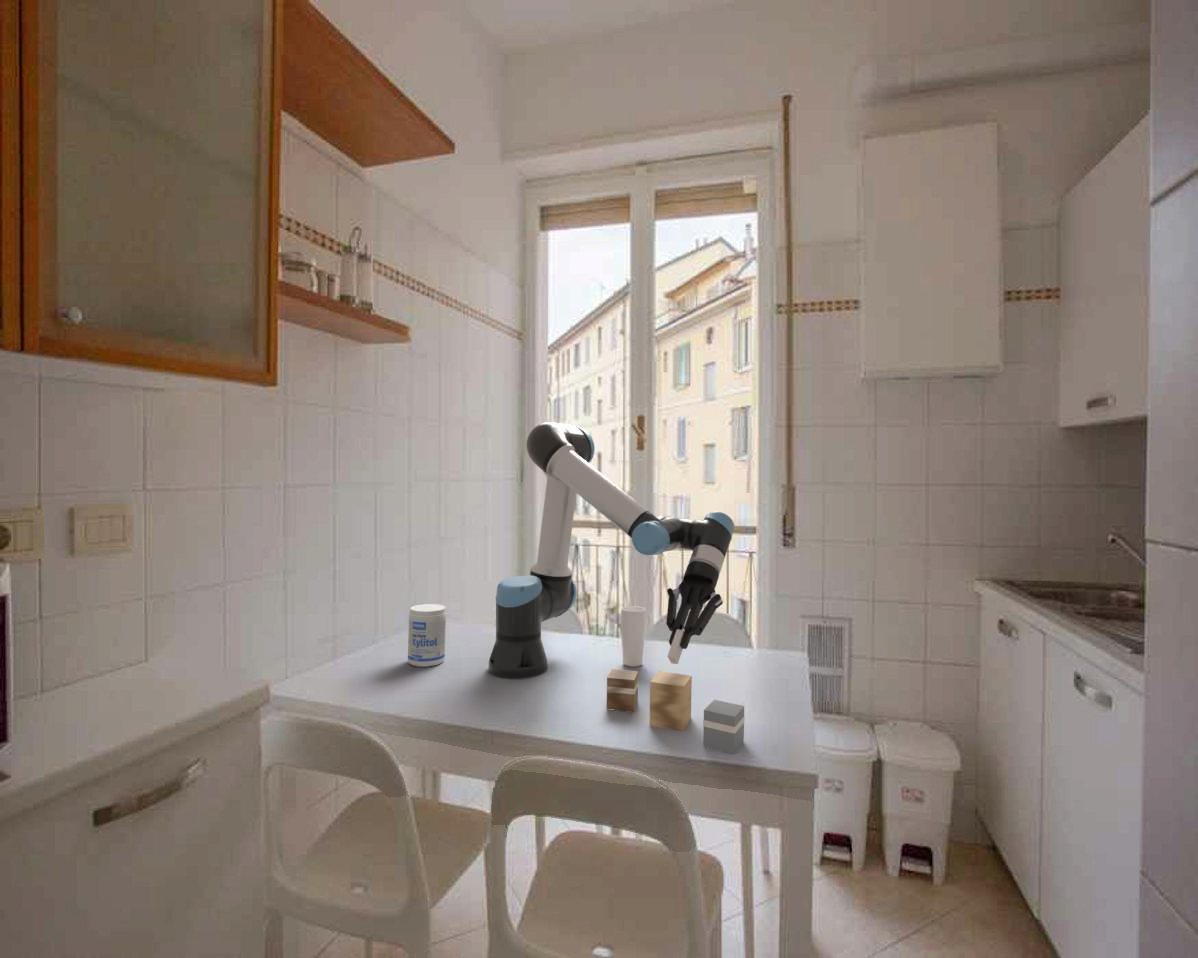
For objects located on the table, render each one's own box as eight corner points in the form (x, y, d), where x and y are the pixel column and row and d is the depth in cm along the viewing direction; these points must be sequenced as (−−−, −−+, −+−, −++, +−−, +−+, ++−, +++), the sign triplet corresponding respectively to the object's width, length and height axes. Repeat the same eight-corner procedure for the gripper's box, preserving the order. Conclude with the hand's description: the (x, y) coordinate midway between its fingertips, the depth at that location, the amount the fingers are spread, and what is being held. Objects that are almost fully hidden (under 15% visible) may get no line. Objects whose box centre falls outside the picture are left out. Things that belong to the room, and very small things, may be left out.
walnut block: (606, 709, 130) (606, 677, 130) (611, 699, 136) (611, 668, 136) (634, 712, 129) (634, 680, 129) (638, 701, 135) (638, 670, 135)
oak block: (649, 725, 122) (650, 681, 122) (658, 712, 129) (659, 671, 129) (683, 731, 120) (683, 686, 120) (690, 718, 126) (691, 675, 126)
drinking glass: (637, 670, 156) (638, 612, 156) (615, 665, 160) (616, 609, 160) (649, 663, 162) (650, 607, 162) (627, 658, 166) (628, 604, 165)
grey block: (702, 746, 113) (703, 709, 113) (713, 734, 118) (714, 699, 118) (734, 754, 110) (735, 716, 110) (744, 741, 115) (744, 705, 115)
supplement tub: (409, 669, 154) (410, 612, 154) (406, 658, 163) (406, 604, 163) (448, 665, 158) (448, 609, 158) (442, 655, 167) (443, 602, 166)
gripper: (734, 582, 137) (706, 675, 123) (682, 576, 144) (650, 664, 130) (727, 561, 133) (697, 655, 119) (673, 557, 139) (638, 645, 125)
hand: (672, 660), depth 124 cm, fingers closed
